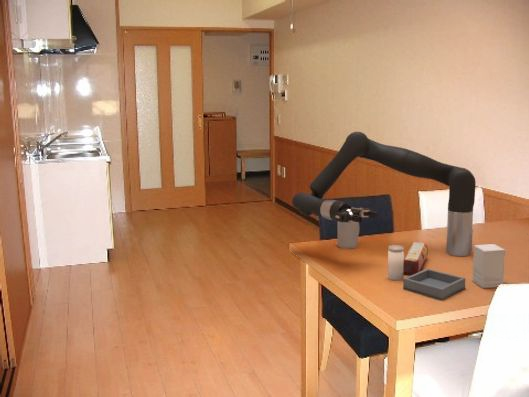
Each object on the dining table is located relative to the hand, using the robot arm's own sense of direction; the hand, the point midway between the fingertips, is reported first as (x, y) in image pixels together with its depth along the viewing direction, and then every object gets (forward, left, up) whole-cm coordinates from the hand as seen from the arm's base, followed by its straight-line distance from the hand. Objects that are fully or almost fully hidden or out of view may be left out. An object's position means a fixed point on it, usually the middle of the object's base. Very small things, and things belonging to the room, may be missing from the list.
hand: (369, 217), depth 194 cm
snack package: (-15, +9, -20) cm, 27 cm away
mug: (-20, -26, -20) cm, 38 cm away
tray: (0, +26, -19) cm, 33 cm away
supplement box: (-16, +36, -20) cm, 44 cm away
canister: (0, +11, -19) cm, 23 cm away
